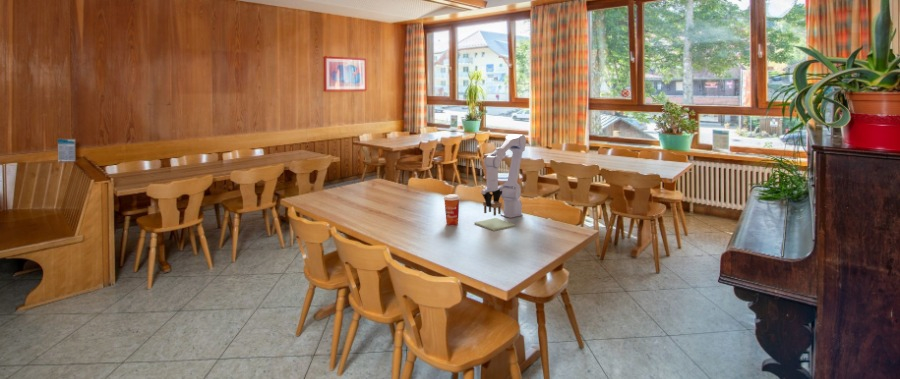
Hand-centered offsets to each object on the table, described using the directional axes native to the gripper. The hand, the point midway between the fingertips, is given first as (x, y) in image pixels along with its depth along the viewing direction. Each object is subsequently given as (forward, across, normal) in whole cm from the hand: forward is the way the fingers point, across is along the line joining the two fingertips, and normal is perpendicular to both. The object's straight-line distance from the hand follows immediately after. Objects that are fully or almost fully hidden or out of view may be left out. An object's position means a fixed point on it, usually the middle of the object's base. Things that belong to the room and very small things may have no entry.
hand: (492, 205), depth 245 cm
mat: (+10, +1, +2) cm, 10 cm away
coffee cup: (+10, +14, -15) cm, 23 cm away
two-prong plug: (+4, 0, 0) cm, 4 cm away
